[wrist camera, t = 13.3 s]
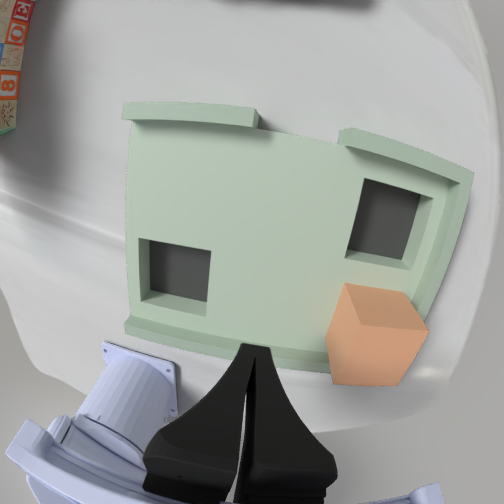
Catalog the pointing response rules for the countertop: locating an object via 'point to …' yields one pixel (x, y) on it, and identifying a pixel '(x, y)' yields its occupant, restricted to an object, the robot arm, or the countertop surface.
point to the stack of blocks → (11, 56)
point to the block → (373, 336)
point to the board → (274, 229)
